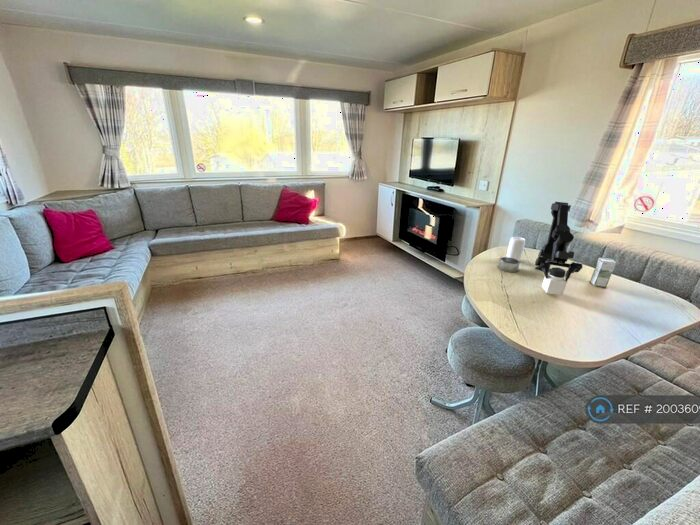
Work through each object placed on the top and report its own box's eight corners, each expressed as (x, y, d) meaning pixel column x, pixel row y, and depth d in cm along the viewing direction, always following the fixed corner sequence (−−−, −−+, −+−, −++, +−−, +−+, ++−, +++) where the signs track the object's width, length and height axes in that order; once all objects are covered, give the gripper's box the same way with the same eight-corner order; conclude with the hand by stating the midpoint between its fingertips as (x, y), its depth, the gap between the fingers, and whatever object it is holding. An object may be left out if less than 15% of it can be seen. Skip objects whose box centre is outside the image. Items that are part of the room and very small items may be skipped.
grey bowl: (504, 263, 188) (506, 255, 186) (521, 269, 181) (523, 261, 179) (494, 267, 183) (496, 258, 181) (511, 273, 175) (513, 264, 173)
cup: (502, 257, 199) (508, 236, 194) (515, 257, 200) (520, 236, 195) (510, 262, 191) (516, 240, 186) (523, 262, 192) (529, 240, 187)
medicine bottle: (562, 295, 149) (570, 272, 145) (546, 293, 151) (553, 270, 146) (556, 288, 156) (563, 266, 151) (541, 286, 157) (547, 265, 152)
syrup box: (602, 283, 167) (611, 258, 162) (606, 287, 162) (616, 262, 157) (589, 281, 169) (598, 256, 164) (593, 285, 164) (603, 260, 158)
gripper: (542, 240, 151) (538, 269, 146) (588, 247, 144) (585, 277, 139) (536, 251, 161) (532, 278, 156) (579, 257, 154) (576, 286, 149)
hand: (556, 280), depth 149 cm, fingers closed on medicine bottle, 8 cm apart
